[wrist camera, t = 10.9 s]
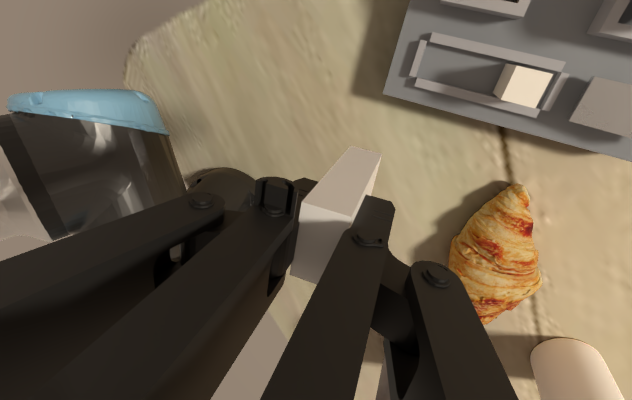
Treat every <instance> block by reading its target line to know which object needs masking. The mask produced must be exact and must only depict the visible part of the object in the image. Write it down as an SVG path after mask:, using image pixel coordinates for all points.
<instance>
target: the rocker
mask: <svg viewBox="0 0 632 400" xmlns="http://www.w3.org/2000/svg"><path fill="white" fill-rule="evenodd" d="M567 119H568V121H571V122H574V123H578V124H582V125H585V126H589V127H592V128H596V129H600V130H603V131H607V132H610V133H614V134H618V135H621V136H625V137H628V138H632V85H630V84H626V83H621V82H617V81H612V80H608V79H603V78H599V77H594V76H591V78H590V79H589V81H588V83H587V84H586V86H585V88H584V90H583V91H582V93H581V95H580V97H579V98H578V100H577V102H576V103H575V105H574V107H573V109H572V110H571V112H570V114H569V115H568V117H567Z"/></svg>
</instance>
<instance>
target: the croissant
mask: <svg viewBox="0 0 632 400" xmlns="http://www.w3.org/2000/svg"><path fill="white" fill-rule="evenodd" d="M529 202H530V197H529V196H528V193H527V189H526V187H524V186H523V185H520V184H518V183H517V184H514V185H511V186H509V187H507V188H506V190H503V191H501V192H500V193H499V194H498V195H497V196H496V197H494V198H493V199H492V200H490V201H488V202H487V203H485V204H484V205H483V206H482V207H481V209H480V210H479V211H477V212H475V213H474V215H473V216H472V217H471V218H470V219H469V220H468V221H467V224H466V225H465V227H464V228H463V229H462V231H461V233H460V235H456V236H454V238H453V239H452V241H451V247H450V254H449V264H448V268H449V269H450V270H451V271H453V272H454V273H455V274H456V275H457V276H458V277H459V278H460V280H461V281H462V283H463V285H464V287H465V289H466V291H467V293H468V295H469V297H470V299H471V301H472V303H473V306H474V308H475V310H476V312H477V314H478V316H479V318H480V320H481V322H482V324H488V323H489V322H491V321H492V320H493V319H494V318H497V316H498V315H499V314H501V313H502V312H504V311H505V310H512V309H513V308H515V307H516V306H517V305H518V304H519V303H520V301H522V300H524V299H525V298H527V297H528V296H530V295H532V294H533V293H535V292H536V291H537V290H538V289H539V288H540V287H541V285H542V282H543V280H542V278H541V272H540V271H539V269H538V267H537V261H538V250H536V249H535V248H534V243H533V240H532V229H533V220H532V218H531V217H530V211H529V210H528V209H527V208H526V207H527V206H528V205H529Z"/></svg>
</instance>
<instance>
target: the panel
mask: <svg viewBox="0 0 632 400" xmlns="http://www.w3.org/2000/svg"><path fill="white" fill-rule="evenodd" d="M506 63H507V64H512V65H517V66H521V67H525V68H530V69H534V70H538V71H543V72H547V73H551V74H553V76H552V78H551V79H550V81H549V83H548V85H547V87H546V89H545V91H544V93H543V95H542V97H541V98H540V100H539V102H538V104H537V106H536V108H531V107H527V106H523V105H520V104H516V103H512V102H508V101H504V100H501V99H499V98H498V97H497V96H496V95H495V94H493V91H494V89H495V86H496V84H497V82H498V80H499V78H500V75H501V73H502V71H503V69H504V67H505V64H506ZM591 76H594V77H599V78H603V79H608V80H612V81H617V82H621V83H626V84H630V85H632V0H410V2H409V5H408V9H407V12H406V16H405V19H404V22H403V26H402V29H401V33H400V36H399V39H398V43H397V46H396V50H395V53H394V56H393V60H392V63H391V66H390V70H389V73H388V77H387V80H386V83H385V87H384V90H383V94H385V95H389V96H392V97H396V98H400V99H403V100H407V101H411V102H414V103H418V104H422V105H425V106H429V107H433V108H436V109H440V110H444V111H447V112H451V113H455V114H458V115H462V116H465V117H469V118H473V119H476V120H480V121H484V122H487V123H491V124H495V125H498V126H502V127H506V128H509V129H513V130H517V131H520V132H524V133H528V134H531V135H535V136H539V137H542V138H546V139H550V140H553V141H557V142H561V143H564V144H568V145H572V146H575V147H579V148H583V149H586V150H590V151H594V152H597V153H601V154H605V155H608V156H612V157H616V158H619V159H623V160H627V161H630V162H632V138H628V137H625V136H621V135H618V134H614V133H610V132H607V131H603V130H600V129H596V128H592V127H589V126H585V125H582V124H578V123H574V122H571V121H568V119H567V117H568V115H569V114H570V112H571V110H572V109H573V107H574V105H575V103H576V102H577V100H578V98H579V97H580V95H581V93H582V91H583V90H584V88H585V86H586V84H587V83H588V81H589V79H590V78H591Z"/></svg>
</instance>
